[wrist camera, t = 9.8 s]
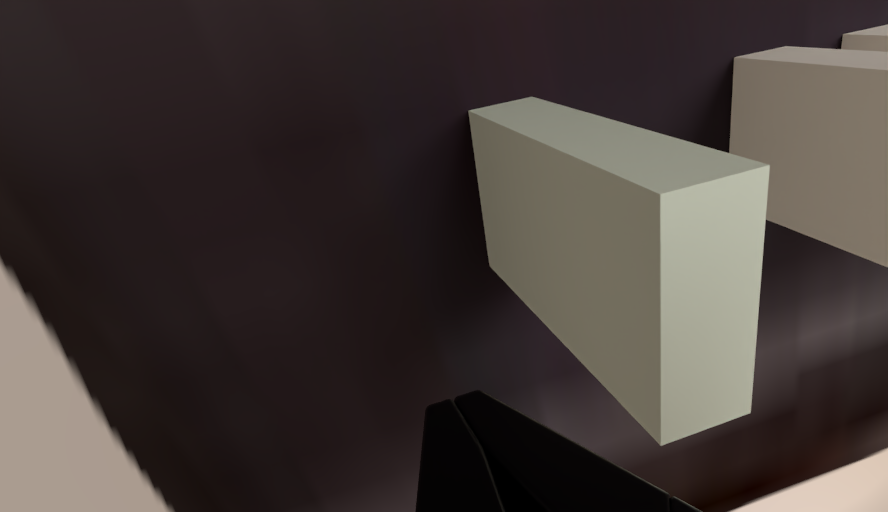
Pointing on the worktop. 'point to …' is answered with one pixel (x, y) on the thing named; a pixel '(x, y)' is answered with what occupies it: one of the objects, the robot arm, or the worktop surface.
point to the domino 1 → (629, 254)
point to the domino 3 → (867, 39)
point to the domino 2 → (818, 141)
